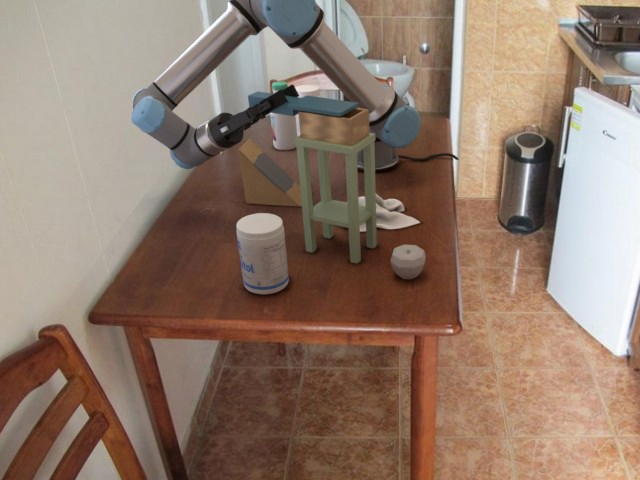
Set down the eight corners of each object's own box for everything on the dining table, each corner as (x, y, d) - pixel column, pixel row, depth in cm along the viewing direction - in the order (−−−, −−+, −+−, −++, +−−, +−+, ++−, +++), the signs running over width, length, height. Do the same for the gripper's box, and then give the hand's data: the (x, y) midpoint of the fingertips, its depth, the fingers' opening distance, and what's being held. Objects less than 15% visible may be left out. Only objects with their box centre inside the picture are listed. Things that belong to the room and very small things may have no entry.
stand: (304, 251, 154) (294, 138, 139) (327, 233, 161) (319, 124, 146) (357, 264, 148) (352, 148, 134) (378, 245, 156) (375, 133, 141)
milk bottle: (302, 143, 214) (296, 80, 203) (291, 152, 208) (285, 87, 197) (280, 141, 216) (274, 78, 205) (269, 149, 210) (262, 85, 199)
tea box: (300, 137, 139) (298, 111, 137) (319, 126, 145) (317, 101, 142) (352, 146, 135) (350, 119, 132) (369, 134, 141) (368, 109, 138)
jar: (297, 127, 227) (293, 83, 219) (325, 127, 227) (322, 83, 219) (294, 139, 218) (290, 93, 209) (323, 138, 218) (320, 92, 210)
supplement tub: (235, 285, 141) (224, 223, 133) (269, 268, 147) (261, 208, 139) (264, 301, 136) (256, 237, 128) (299, 283, 142) (292, 221, 134)
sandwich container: (301, 207, 174) (296, 152, 166) (245, 203, 176) (237, 149, 168) (310, 193, 181) (305, 140, 173) (256, 190, 183) (249, 137, 175)
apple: (401, 262, 149) (401, 236, 145) (432, 271, 146) (433, 245, 142) (383, 278, 143) (382, 252, 140) (415, 288, 140) (415, 261, 136)
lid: (243, 111, 143) (241, 97, 141) (264, 102, 149) (263, 89, 147) (341, 127, 134) (340, 112, 132) (359, 116, 140) (358, 102, 138)
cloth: (327, 231, 162) (326, 208, 159) (338, 200, 177) (337, 178, 174) (419, 234, 161) (419, 210, 157) (421, 202, 176) (421, 180, 173)
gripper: (250, 137, 161) (319, 99, 147) (206, 160, 148) (275, 120, 135) (234, 108, 159) (302, 67, 145) (187, 129, 146) (256, 86, 132)
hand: (289, 93), depth 140 cm, fingers closed on lid, 4 cm apart
